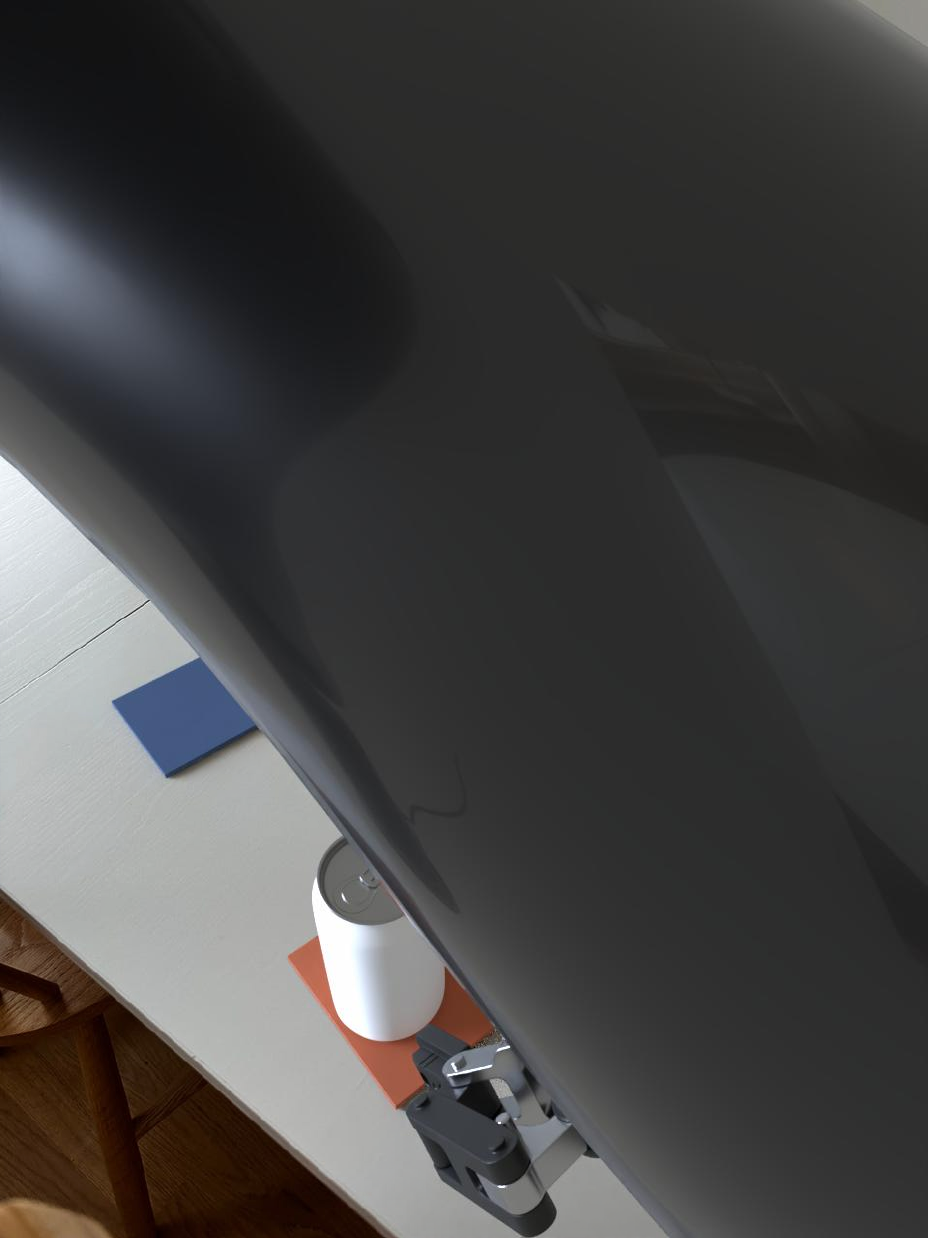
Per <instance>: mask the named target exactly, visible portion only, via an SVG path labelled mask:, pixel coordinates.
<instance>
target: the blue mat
mask: <svg viewBox="0 0 928 1238" xmlns="http://www.w3.org/2000/svg"><path fill="white" fill-rule="evenodd" d="M111 704H112V706H113V708H114V709H115V710H116V711H117V713H118V714H119V716H120V717H121V719H122V720H123V721H124V722H125V724H126V725H127V726H128V728H129V729H130V731H131V732H132V734H133V735H134V736H135V738H136V739H137V740H138V742H139V743H140V744H141V745H142V747H143V748H144V750H145V751H146V753H147V754H148V756H150V758H151V759H152V761H153V762H154V764H155V765H156V766H157V768H158V769H159V771H161V773H162V774H163V776H164V777H165V779H168V778H170V777H171V776H173V775H175V774H178V773H179V772H180V771H182V770H184V769H186V768H188V767H190V766H191V765H193V764H195V763H197V762H199V761H200V760H202V759H204V758H206V757H208V756H209V755H212V754H213V753H215V752H217V751H218V750H221V749H222V748H224V747H226V746H227V745H230V744H231V743H233V742H235V741H236V740H239V739H241V738H242V737H244V736H246V735H248V734H249V733H251V732H253V731H255V730H256V729H259V728H258V727H257V725H256V724H255V723H254V722H253V721H252V719H251V718H250V717H249V716H248V715H247V713H246V712H245V711H244V710H243V709H242V707H241V706H240V705H239V704H238V703H237V701H236V700H235V699H234V698H233V697H232V695H231V694H230V693H229V692H228V691H227V689H226V688H225V687H224V686H223V684H222V683H221V682H220V681H219V680H218V678H217V677H216V676H215V675H214V674H213V672H212V671H211V670H210V669H209V668H208V666H207V665H206V664H205V663H204V662H203V660H202V659H201V658H200V657H199V656H198V657H197V658H195V659H193V660H191V661H189V662H187V663H185V664H183V665H180V666H179V667H176V668H175V669H173V670H171V671H168V672H167V673H165V674H163V675H160V676H159V677H157V678H155V679H153V680H151V681H149V682H147V683H145V684H143V685H140V686H139V687H137V688H134V689H133V690H130V691H128V692H127V693H125V694H123V695H120V696H118V697H117V698H115V699H113V700H111Z"/></svg>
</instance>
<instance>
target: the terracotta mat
mask: <svg viewBox="0 0 928 1238" xmlns="http://www.w3.org/2000/svg"><path fill="white" fill-rule="evenodd" d="M286 958H287V960H288V962H289V963H290V965H291V966H292V968H294V970H295V971H296V973H297V974H298V976H299V978H301V980H302V981H303V983H304V984H305V985H306V986H307V988H308V989H309V992H311V993H312V996H314V998H315V999H316V1001H317V1003H319V1005H320V1006H321V1007H322V1009H323V1010H324V1012H325V1013H326V1014H327V1016H328V1017H329V1019H330V1020H331V1021H332V1022H333V1024H334V1026H335V1027H336V1029H337V1030H338V1031H339V1032H340V1034H341V1035H342V1036H343V1038H344V1039H345V1041H346V1042H347V1043H348V1045H349V1046H350V1048H351V1049H352V1050H353V1052H354V1053H355V1055H356V1056H357V1057H358V1058H359V1061H361V1063H362V1064H363V1066H364V1067H365V1068H366V1070H367V1071H368V1072H369V1074H370V1075H371V1077H372V1078H373V1080H374V1081H375V1083H376V1084H377V1086H379V1088H380V1089H381V1091H382V1092H383V1093H384V1095H385V1096H386V1097H387V1099H388V1100H389V1102H390V1103H391V1104H392V1106H393V1107H394V1109H395V1110H398V1109H400V1108H401V1107H402V1106H403V1105H404V1104H405V1103H407V1102H408V1101H409V1100H411V1099H412V1098H413V1097H414V1096H416V1095H417V1094H418V1093H419V1092H420V1091H421V1090H423V1089H424V1088H426V1087H427V1086H426V1084H425V1083H424V1081H423V1079H422V1077H421V1075H420V1073H419V1071H418V1069H417V1068H416V1066H415V1064H414V1062H413V1057H412V1054H413V1053H414V1052H415V1051H417V1050H418V1049H419V1048H420V1047H419V1045H418V1043H417V1041H416V1039H415V1035H416V1034H418V1033H419V1032H420V1031H421V1030H423V1029H424V1028H425V1027H427V1026H428V1025H429V1024H433V1025H434V1026H436V1027H438V1028H440V1029H442V1030H444V1031H445V1032H447V1033H449V1034H451V1035H453V1036H455V1037H457V1038H458V1039H460V1040H462V1041H464V1042H466V1043H468V1044H469V1045H470V1047H471V1049H474V1047H476V1046H477V1045H478V1044H479V1043H480V1042H481V1041H483V1040H484V1039H485V1038H487V1036H489V1035H490V1034H491V1033H492V1032H494V1031H495V1030H496V1029H495V1028H494V1027H493V1025H492V1024H491V1023H490V1022H489V1020H488V1019H487V1018H486V1017H485V1016H484V1014H483V1013H482V1012H481V1011H480V1009H479V1008H478V1007H477V1006H476V1004H475V1003H474V1002H473V1001H472V999H471V998H470V997H469V996H468V994H467V993H466V992H465V991H464V989H463V988H462V987H461V986H460V984H459V983H458V982H457V981H456V979H455V978H454V977H453V976H452V974H451V973H450V972H449V971H448V969H447V968H446V967H445V966H444V968H445V989H444V995H443V999H442V1002H441V1005H440V1007H439V1009H438V1011H437V1013H436V1014H435V1016H434V1017H433V1018H432V1020H431V1021H430V1022H429V1023H428V1024H427V1025H426V1026H425V1027H424V1028H422V1029H421V1030H420V1031H418V1032H417V1033H415V1034H413V1035H411V1036H409V1037H406V1038H403V1039H400V1040H395V1041H375V1040H371V1039H368V1038H365V1037H363V1036H361V1035H359V1034H357V1033H356V1032H354V1031H353V1030H351V1029H350V1028H349V1027H348V1026H346V1025H345V1024H344V1023H343V1021H342V1020H341V1019H340V1017H339V1015H338V1013H337V1011H336V1008H335V1005H334V1002H333V998H332V994H331V990H330V985H329V981H328V976H327V972H326V967H325V963H324V958H323V954H322V949H321V945H320V940H319V935H318V934H317V935H316V936H315V937H313V938H312V939H310V940H309V941H307V942H305V943H304V944H303V945H302V946H300V947H298V948H296V949H295V950H294V951H292V952H291V953H290V954H288V955H287V957H286Z"/></svg>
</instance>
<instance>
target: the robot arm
mask: <svg viewBox="0 0 928 1238" xmlns="http://www.w3.org/2000/svg"><path fill="white" fill-rule="evenodd" d="M0 457H1V458H2V459H4V460H5V461H6V462H7V463H8V464H9V465H10V466H12V467H13V468H14V469H15V470H16V471H17V472H19V474H21V475H22V476H23V477H24V478H25V480H27V481H28V482H29V483H30V484H31V485H32V486H33V487H34V488H35V489H36V490H37V491H38V492H39V493H40V494H41V495H42V496H43V497H44V498H45V499H46V500H47V501H48V502H49V503H50V504H52V506H53V507H54V508H55V509H56V510H57V511H58V512H59V513H60V514H61V515H62V516H64V518H65V519H66V520H68V521H69V522H70V523H71V524H72V526H74V527H75V528H76V530H78V532H80V533H81V535H83V536H84V537H85V539H87V540H88V541H89V543H91V544H92V546H94V547H95V548H96V549H97V550H98V551H99V552H100V553H101V554H102V555H103V556H104V557H105V558H106V559H107V560H108V561H109V562H110V563H111V564H112V565H113V566H114V567H115V568H116V569H117V570H118V571H119V572H120V573H122V575H124V577H125V578H126V579H128V581H130V582H131V583H132V585H133V586H135V588H136V589H138V591H140V593H142V594H143V596H145V597H146V598H147V600H148V601H150V602H151V603H152V604H153V606H155V608H156V609H157V610H158V611H159V612H160V613H161V615H163V617H164V618H165V619H166V620H167V621H168V623H169V624H170V625H171V626H172V627H173V628H174V629H175V631H176V632H177V633H178V634H179V635H180V636H181V637H182V638H183V640H184V641H185V642H186V643H187V644H188V645H189V647H191V648H192V650H193V651H194V652H195V653H196V655H197V657H198V658H199V657H200V658H201V659H202V660H203V662H204V663H205V664H206V665H207V666H208V668H209V669H210V670H211V671H212V672H213V674H214V675H215V676H216V677H217V678H218V680H219V681H220V682H221V683H222V684H223V686H224V687H225V688H226V689H227V691H228V692H229V693H230V694H231V695H232V697H233V698H234V699H235V700H236V701H237V703H238V704H239V705H240V706H241V707H242V709H243V710H244V711H245V712H246V713H247V715H248V716H249V717H250V718H251V719H252V721H253V722H254V723H255V724H256V725H257V727H258V728H257V729H259V730H260V732H261V733H262V734H263V735H264V737H265V738H266V739H267V740H268V741H269V743H270V744H271V745H272V746H273V747H274V749H275V750H276V751H277V752H278V753H279V755H280V756H281V757H282V758H283V760H284V761H285V762H286V764H287V765H288V766H289V767H290V769H291V771H292V772H294V774H295V775H296V777H297V778H298V780H300V782H301V783H302V785H304V786H303V787H305V788H306V790H307V791H308V792H309V794H310V795H311V796H312V798H314V800H315V801H316V803H317V804H318V805H319V807H320V808H321V809H322V811H323V812H324V813H325V814H326V816H327V817H328V818H329V820H330V821H331V822H332V823H333V824H334V826H335V827H336V829H337V830H338V831H339V833H340V834H341V836H344V838H345V839H346V840H347V841H348V843H349V844H350V845H351V847H352V848H353V849H354V851H355V852H356V853H357V854H358V856H359V857H360V858H361V860H362V861H363V862H364V864H365V865H366V866H367V867H368V869H369V870H370V871H371V873H372V874H373V875H374V877H375V878H376V879H377V880H378V882H379V883H380V884H381V886H382V887H383V888H384V890H385V891H386V892H387V893H388V895H389V896H390V897H391V899H392V900H393V901H394V903H395V904H396V905H397V906H398V908H399V909H400V910H401V912H402V913H403V914H404V916H405V917H406V918H407V919H408V921H409V922H410V923H411V925H412V926H413V927H414V928H415V930H416V931H417V932H418V933H419V935H420V936H421V937H422V938H423V940H424V941H425V942H426V943H427V945H428V946H429V947H430V948H431V949H432V951H433V952H434V953H435V954H436V956H437V957H438V958H439V959H440V961H441V962H442V963H443V964H444V966H445V967H446V968H447V969H448V971H449V972H450V973H451V974H452V976H453V977H454V978H455V979H456V981H457V982H458V983H459V984H460V986H461V987H462V988H463V989H464V991H465V992H466V993H467V994H468V996H469V997H470V998H471V999H472V1001H473V1002H474V1003H475V1004H476V1006H477V1007H478V1008H479V1009H480V1011H481V1012H482V1013H483V1014H484V1016H485V1017H486V1018H487V1019H488V1020H489V1022H490V1023H491V1024H492V1025H493V1027H494V1028H495V1030H496V1032H497V1033H498V1034H499V1036H500V1038H501V1041H500V1042H496V1043H493V1044H489V1045H484V1046H480V1047H475V1048H472V1049H471V1047H470V1045H469V1044H468V1043H466V1042H464V1041H462V1040H460V1039H458V1038H457V1037H455V1036H453V1035H451V1034H449V1033H447V1032H445V1031H444V1030H442V1029H440V1028H438V1027H436V1026H434V1025H433V1024H429V1025H428V1026H427V1027H425V1028H424V1029H423V1030H421V1031H420V1032H419V1033H418V1034H416V1035H415V1039H416V1041H417V1043H418V1045H419V1047H420V1048H419V1049H418V1050H417V1051H415V1052H414V1053H413V1054H412V1057H413V1062H414V1064H415V1066H416V1068H417V1069H418V1071H419V1073H420V1075H421V1077H422V1079H423V1081H424V1083H425V1084H426V1086H425V1087H426V1088H427V1091H424V1092H422V1093H421V1094H419V1095H417V1096H416V1097H415V1098H413V1100H412V1101H411V1102H410V1103H409V1104H408V1105H407V1107H406V1108H405V1115H406V1117H407V1119H408V1121H409V1123H410V1125H411V1127H412V1128H413V1129H414V1130H415V1131H416V1132H417V1134H418V1136H419V1138H420V1140H421V1142H422V1144H423V1146H424V1147H425V1149H426V1151H427V1153H428V1155H429V1157H430V1158H431V1161H432V1163H433V1168H434V1169H435V1171H436V1173H437V1175H438V1177H439V1179H440V1181H442V1182H443V1183H445V1184H446V1185H447V1186H449V1187H451V1188H452V1189H453V1190H454V1191H456V1192H458V1193H459V1194H460V1195H462V1196H463V1197H465V1198H466V1199H468V1200H469V1201H470V1202H473V1204H475V1205H476V1206H478V1207H479V1208H480V1209H482V1210H483V1211H485V1212H487V1214H489V1215H490V1216H492V1217H493V1218H495V1219H496V1220H498V1221H499V1222H501V1223H503V1224H504V1225H505V1226H506V1227H508V1228H509V1229H511V1230H513V1231H514V1232H515V1233H517V1234H518V1235H520V1236H521V1237H523V1238H535V1237H538V1236H541V1235H542V1234H543V1233H545V1232H547V1230H549V1229H550V1228H551V1226H552V1225H553V1224H554V1222H555V1220H556V1218H557V1215H558V1211H557V1207H556V1205H555V1203H554V1201H553V1199H552V1198H551V1196H550V1193H549V1192H548V1191H549V1189H550V1188H552V1186H554V1184H555V1183H556V1182H557V1181H558V1180H559V1179H560V1178H561V1177H562V1176H563V1175H564V1174H565V1173H566V1172H567V1171H568V1170H569V1169H570V1168H571V1167H572V1166H573V1165H574V1164H575V1163H576V1162H577V1161H578V1160H579V1159H580V1158H581V1156H584V1157H587V1158H589V1159H590V1158H591V1159H600V1160H601V1161H602V1163H604V1164H605V1166H606V1167H607V1168H608V1169H609V1171H610V1172H612V1174H613V1175H614V1176H615V1177H616V1179H618V1181H619V1182H620V1183H621V1184H622V1185H623V1187H625V1189H626V1190H627V1191H628V1192H629V1193H630V1195H631V1196H632V1197H633V1198H634V1199H635V1200H636V1201H637V1203H639V1205H640V1206H641V1207H642V1208H643V1209H644V1211H645V1212H646V1213H647V1215H648V1216H649V1217H650V1218H651V1219H652V1220H653V1221H654V1222H655V1224H657V1226H658V1227H659V1228H660V1229H661V1230H662V1231H663V1233H664V1234H665V1235H666V1236H667V1237H668V1238H928V45H927V46H926V44H924V43H922V42H921V41H919V40H918V39H916V38H915V37H913V36H912V35H910V34H909V33H907V32H906V31H904V30H903V29H901V28H900V27H899V26H897V25H895V24H894V23H892V22H891V21H889V20H888V19H886V18H885V17H883V16H882V15H880V14H879V13H877V12H876V11H874V10H873V9H871V8H869V7H868V6H867V5H866V4H864V3H863V2H861V1H859V0H0ZM495 1079H496V1080H497V1079H499V1080H502V1081H504V1082H505V1084H506V1085H507V1086H508V1088H509V1090H510V1092H511V1094H512V1095H510V1096H504V1097H499V1095H498V1094H497V1092H496V1090H495V1088H494V1085H493V1084H492V1082H491V1081H492V1080H495Z"/></svg>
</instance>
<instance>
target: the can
mask: <svg viewBox="0 0 928 1238" xmlns="http://www.w3.org/2000/svg"><path fill="white" fill-rule="evenodd" d="M311 903H312V910H313V916H314V920H315V925H316V930H317V936H318V935H319V940H320V945H321V949H322V954H323V958H324V963H325V967H326V972H327V976H328V981H329V985H330V990H331V994H332V998H333V1002H334V1005H335V1008H336V1011H337V1013H338V1015H339V1017H340V1019H341V1020H342V1021H343V1023H344V1024H345V1025H346V1026H348V1027H349V1028H350V1029H351V1030H353V1031H354V1032H356V1033H357V1034H359V1035H361V1036H363V1037H365V1038H368V1039H371V1040H375V1041H395V1040H400V1039H403V1038H406V1037H409V1036H411V1035H413V1034H415V1033H417V1032H418V1031H420V1030H421V1029H422V1028H424V1027H425V1026H426V1025H427V1024H428V1023H429V1022H430V1021H431V1020H432V1018H433V1017H434V1016H435V1014H436V1013H437V1011H438V1009H439V1007H440V1005H441V1002H442V999H443V995H444V989H445V968H444V964H443V963H442V962H441V961H440V959H439V958H438V957H437V956H436V954H435V953H434V952H433V951H432V949H431V948H430V947H429V946H428V945H427V943H426V942H425V941H424V940H423V938H422V937H421V936H420V935H419V933H418V932H417V931H416V930H415V928H414V927H413V926H412V925H411V923H410V922H409V921H408V919H407V918H406V917H405V916H404V914H403V913H402V912H401V910H400V909H399V908H398V906H397V905H396V904H395V903H394V901H393V900H392V899H391V897H390V896H389V895H388V893H387V892H386V891H385V890H384V888H383V887H382V886H381V884H380V883H379V882H378V880H377V879H376V878H375V877H374V875H373V874H372V873H371V871H370V870H369V869H368V867H367V866H366V865H365V864H364V862H363V861H362V860H361V858H360V857H359V856H358V854H357V853H356V852H355V851H354V849H353V848H352V847H351V845H350V844H349V843H348V841H347V840H346V839H345V838H344V836H343V835H341V836H340V837H338V838H337V839H336V840H335V841H333V842H332V843H331V844H330V845H329V847H327V849H326V850H325V852H324V853H323V855H322V857H321V858H320V861H319V863H318V866H317V869H316V876H315V878H314V882H313V885H312V895H311Z"/></svg>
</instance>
